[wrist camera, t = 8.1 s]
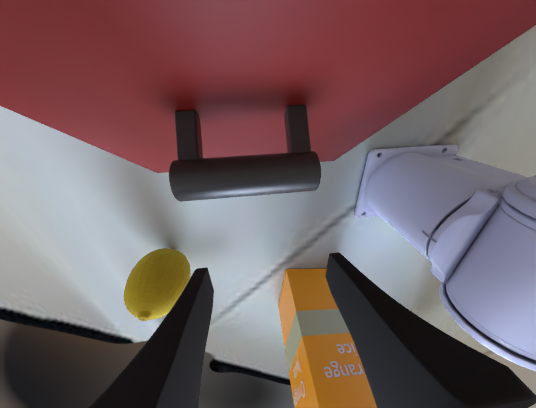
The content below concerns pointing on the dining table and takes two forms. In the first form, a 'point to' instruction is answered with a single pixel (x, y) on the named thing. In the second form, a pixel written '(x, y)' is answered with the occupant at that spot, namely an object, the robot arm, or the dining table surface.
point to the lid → (239, 78)
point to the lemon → (156, 283)
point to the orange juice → (319, 346)
